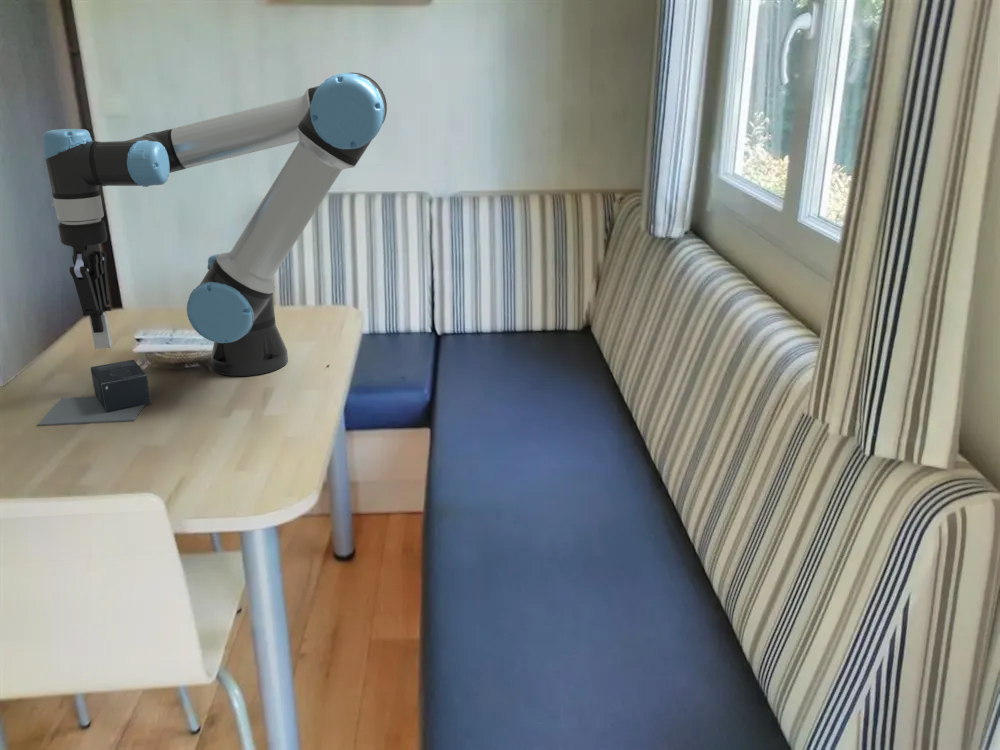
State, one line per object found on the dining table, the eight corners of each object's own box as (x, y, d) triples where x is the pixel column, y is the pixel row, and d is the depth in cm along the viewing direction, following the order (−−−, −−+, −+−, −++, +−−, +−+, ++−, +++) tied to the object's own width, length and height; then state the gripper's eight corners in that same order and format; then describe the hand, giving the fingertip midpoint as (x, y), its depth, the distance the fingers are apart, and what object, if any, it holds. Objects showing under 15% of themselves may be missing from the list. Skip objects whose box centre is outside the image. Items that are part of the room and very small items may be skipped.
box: (94, 395, 159) (105, 413, 150) (89, 366, 157) (100, 383, 148) (139, 386, 163) (151, 403, 154) (134, 358, 161) (147, 374, 152)
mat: (151, 395, 159) (151, 393, 159) (134, 420, 148) (133, 419, 148) (61, 399, 157) (61, 397, 157) (37, 426, 146) (37, 424, 146)
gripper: (71, 214, 155) (93, 336, 163) (45, 228, 143) (70, 359, 151) (114, 213, 156) (134, 335, 164) (91, 227, 144) (114, 357, 152)
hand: (103, 346), depth 158 cm, fingers closed
